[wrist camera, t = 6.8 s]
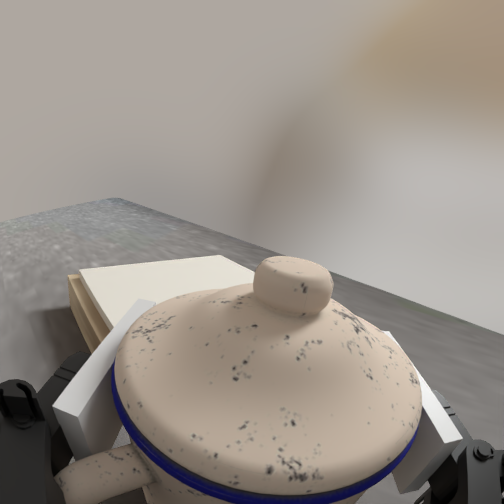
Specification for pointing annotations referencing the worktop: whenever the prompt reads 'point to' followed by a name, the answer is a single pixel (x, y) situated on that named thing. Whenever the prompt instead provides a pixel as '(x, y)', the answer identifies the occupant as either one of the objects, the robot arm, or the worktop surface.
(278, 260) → the teacup with lid
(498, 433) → the worktop surface
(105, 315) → the oak tea stand
